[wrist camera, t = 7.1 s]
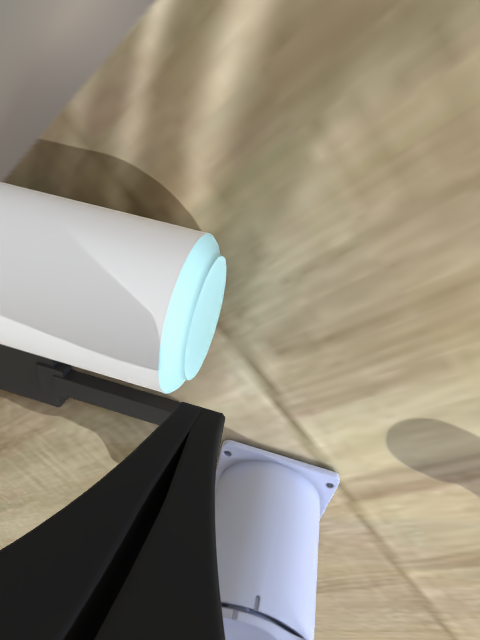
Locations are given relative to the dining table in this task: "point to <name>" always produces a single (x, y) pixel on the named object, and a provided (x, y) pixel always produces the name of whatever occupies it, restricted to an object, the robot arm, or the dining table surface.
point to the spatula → (75, 386)
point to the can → (107, 288)
